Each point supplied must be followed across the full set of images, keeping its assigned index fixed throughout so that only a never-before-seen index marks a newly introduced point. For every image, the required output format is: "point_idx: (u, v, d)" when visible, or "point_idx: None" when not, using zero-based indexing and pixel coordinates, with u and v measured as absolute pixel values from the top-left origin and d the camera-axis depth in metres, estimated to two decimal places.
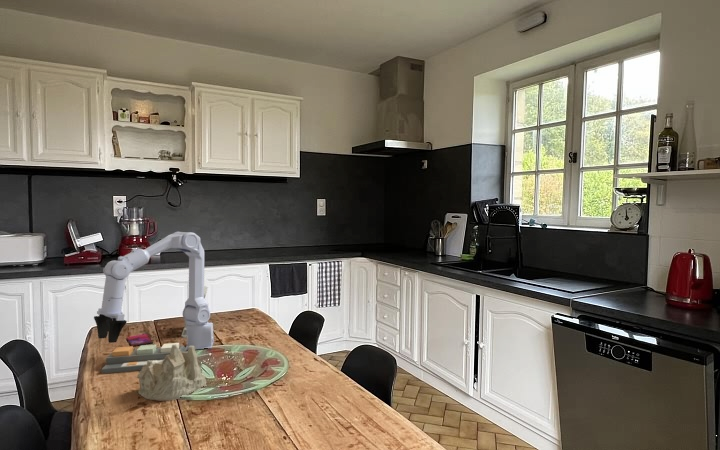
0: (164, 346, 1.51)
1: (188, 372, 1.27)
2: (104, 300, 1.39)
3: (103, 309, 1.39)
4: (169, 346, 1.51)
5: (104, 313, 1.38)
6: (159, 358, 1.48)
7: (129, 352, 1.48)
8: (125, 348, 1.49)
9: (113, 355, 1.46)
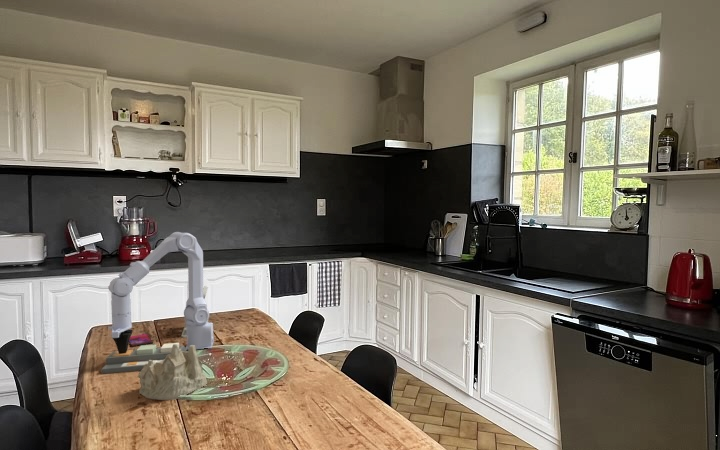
0: (164, 346, 1.51)
1: (189, 371, 1.27)
2: None
3: (112, 325, 1.47)
4: (169, 346, 1.51)
5: (111, 329, 1.46)
6: (159, 358, 1.48)
7: None
8: None
9: None
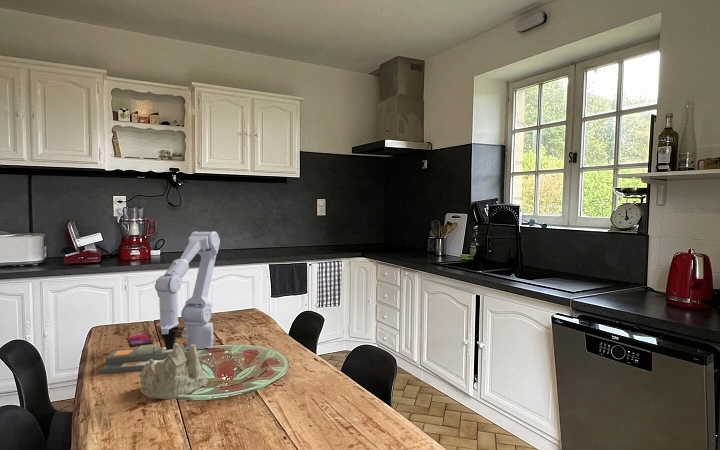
0: (164, 349, 1.51)
1: (190, 371, 1.28)
2: None
3: (160, 321, 1.50)
4: None
5: (159, 325, 1.49)
6: (159, 358, 1.48)
7: None
8: (125, 352, 1.49)
9: None
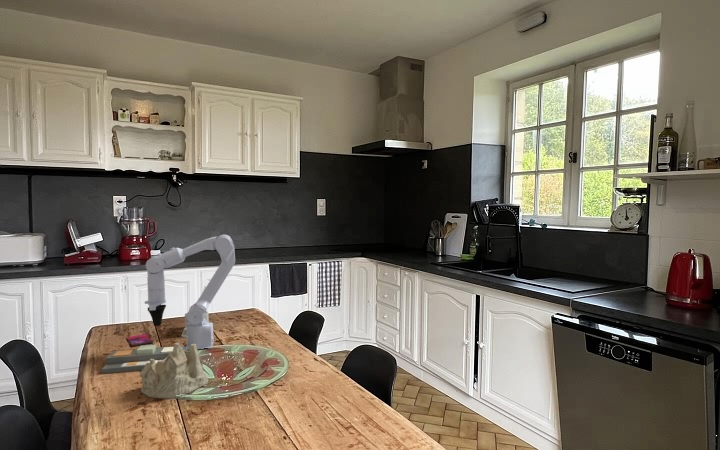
0: (164, 350, 1.51)
1: (190, 370, 1.28)
2: None
3: (148, 299, 1.60)
4: (169, 350, 1.51)
5: (147, 303, 1.59)
6: (159, 358, 1.48)
7: None
8: (125, 352, 1.49)
9: None
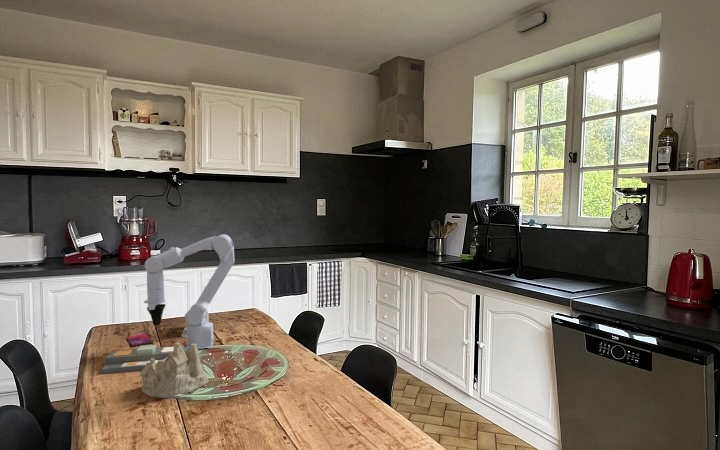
0: (164, 350, 1.51)
1: (190, 370, 1.29)
2: (147, 291, 1.61)
3: None
4: (169, 350, 1.51)
5: (147, 302, 1.60)
6: (159, 358, 1.48)
7: None
8: (125, 352, 1.49)
9: None
